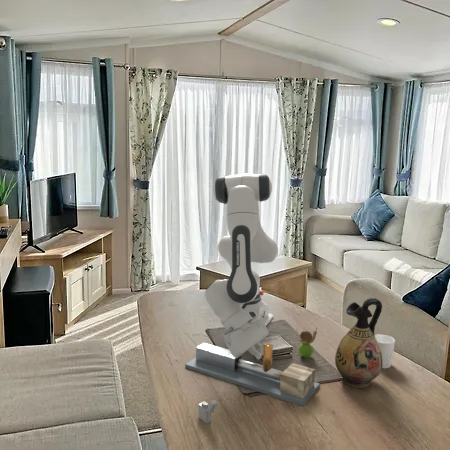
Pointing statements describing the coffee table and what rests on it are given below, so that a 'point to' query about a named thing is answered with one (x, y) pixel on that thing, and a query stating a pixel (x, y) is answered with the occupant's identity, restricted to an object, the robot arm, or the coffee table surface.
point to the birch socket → (297, 380)
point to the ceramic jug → (360, 347)
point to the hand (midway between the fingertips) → (261, 357)
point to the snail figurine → (307, 343)
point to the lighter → (206, 410)
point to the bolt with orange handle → (261, 369)
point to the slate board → (251, 381)
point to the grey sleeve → (216, 357)
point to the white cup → (386, 348)
